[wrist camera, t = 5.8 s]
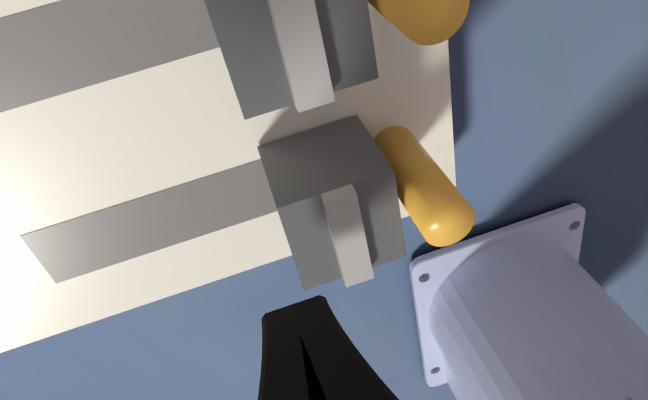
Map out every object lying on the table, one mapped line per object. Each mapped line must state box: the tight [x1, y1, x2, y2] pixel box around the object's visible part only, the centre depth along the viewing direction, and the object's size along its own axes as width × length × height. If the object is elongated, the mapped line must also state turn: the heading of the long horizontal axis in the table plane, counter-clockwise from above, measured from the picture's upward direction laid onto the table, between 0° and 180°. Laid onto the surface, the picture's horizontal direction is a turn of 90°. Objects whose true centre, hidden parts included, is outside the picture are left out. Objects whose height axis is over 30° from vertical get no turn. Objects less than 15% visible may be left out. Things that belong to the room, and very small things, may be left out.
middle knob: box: [204, 0, 379, 120], centre depth 11 cm, size 3×3×3 cm
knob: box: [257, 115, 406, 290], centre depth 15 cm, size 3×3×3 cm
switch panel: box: [0, 0, 475, 353], centre depth 12 cm, size 17×16×6 cm
